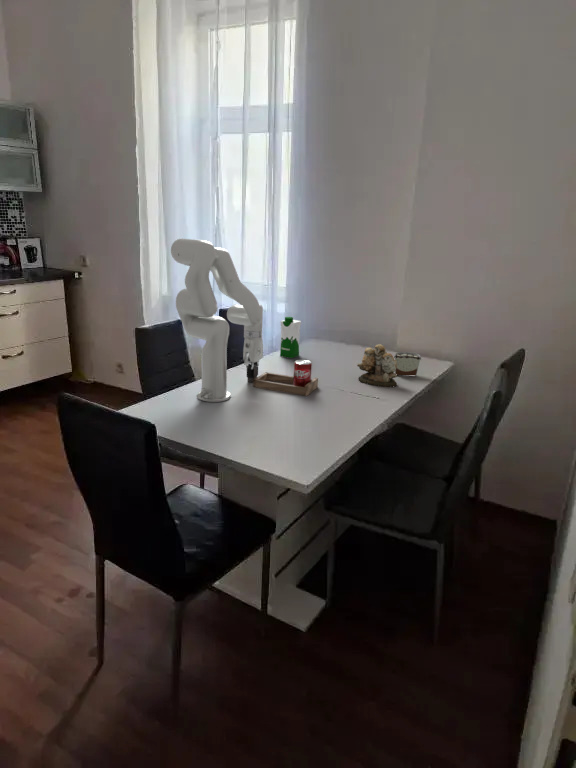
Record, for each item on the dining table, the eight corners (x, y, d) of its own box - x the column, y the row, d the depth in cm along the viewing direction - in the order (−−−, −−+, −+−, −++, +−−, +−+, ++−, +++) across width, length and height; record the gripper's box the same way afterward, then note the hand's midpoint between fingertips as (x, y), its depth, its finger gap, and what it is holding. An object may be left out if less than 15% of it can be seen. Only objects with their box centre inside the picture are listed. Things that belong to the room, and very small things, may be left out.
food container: (417, 373, 246) (420, 352, 243) (419, 377, 240) (421, 355, 237) (390, 371, 247) (392, 350, 244) (392, 375, 241) (394, 354, 238)
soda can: (307, 393, 212) (309, 365, 208) (290, 391, 214) (291, 363, 210) (312, 388, 218) (313, 360, 215) (295, 386, 220) (296, 358, 217)
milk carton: (277, 356, 266) (278, 317, 259) (287, 352, 273) (288, 314, 267) (292, 359, 261) (294, 319, 255) (301, 355, 269) (303, 316, 262)
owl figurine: (352, 383, 228) (355, 344, 223) (360, 376, 239) (363, 339, 234) (393, 389, 221) (397, 350, 216) (399, 382, 232) (403, 344, 227)
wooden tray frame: (307, 395, 209) (308, 379, 206) (242, 384, 219) (242, 368, 217) (317, 387, 220) (318, 371, 217) (255, 377, 230) (255, 361, 227)
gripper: (252, 338, 209) (251, 383, 214) (269, 331, 223) (268, 372, 229) (235, 336, 211) (235, 380, 217) (253, 329, 226) (253, 370, 231)
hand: (252, 376), depth 223 cm, fingers closed on wooden tray frame, 3 cm apart
